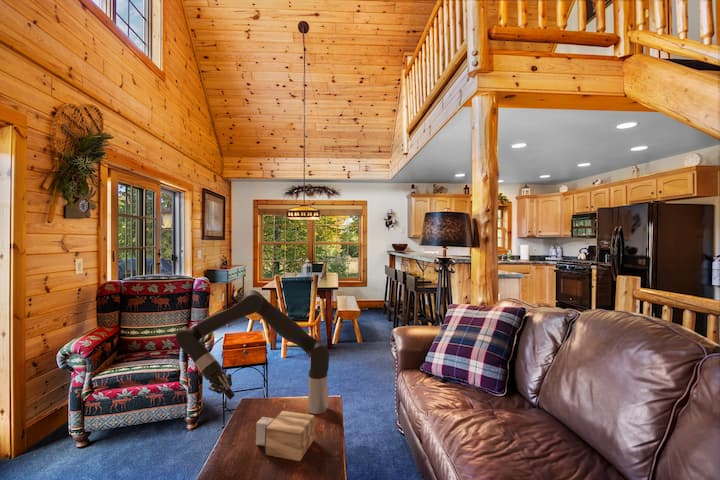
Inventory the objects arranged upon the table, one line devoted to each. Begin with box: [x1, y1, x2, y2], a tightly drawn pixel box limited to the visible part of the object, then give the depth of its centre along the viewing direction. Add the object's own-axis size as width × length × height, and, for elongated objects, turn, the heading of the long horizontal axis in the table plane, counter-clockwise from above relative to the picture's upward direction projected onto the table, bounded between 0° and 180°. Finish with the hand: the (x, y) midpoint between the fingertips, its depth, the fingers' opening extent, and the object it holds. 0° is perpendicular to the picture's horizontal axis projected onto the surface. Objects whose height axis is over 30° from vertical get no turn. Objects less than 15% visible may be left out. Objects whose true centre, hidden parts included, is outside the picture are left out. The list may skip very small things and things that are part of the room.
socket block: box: [264, 410, 315, 462], centre depth 137 cm, size 14×15×10 cm
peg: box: [255, 416, 275, 447], centre depth 139 cm, size 5×12×9 cm, turn 76°
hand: (232, 397), depth 143 cm, fingers closed
